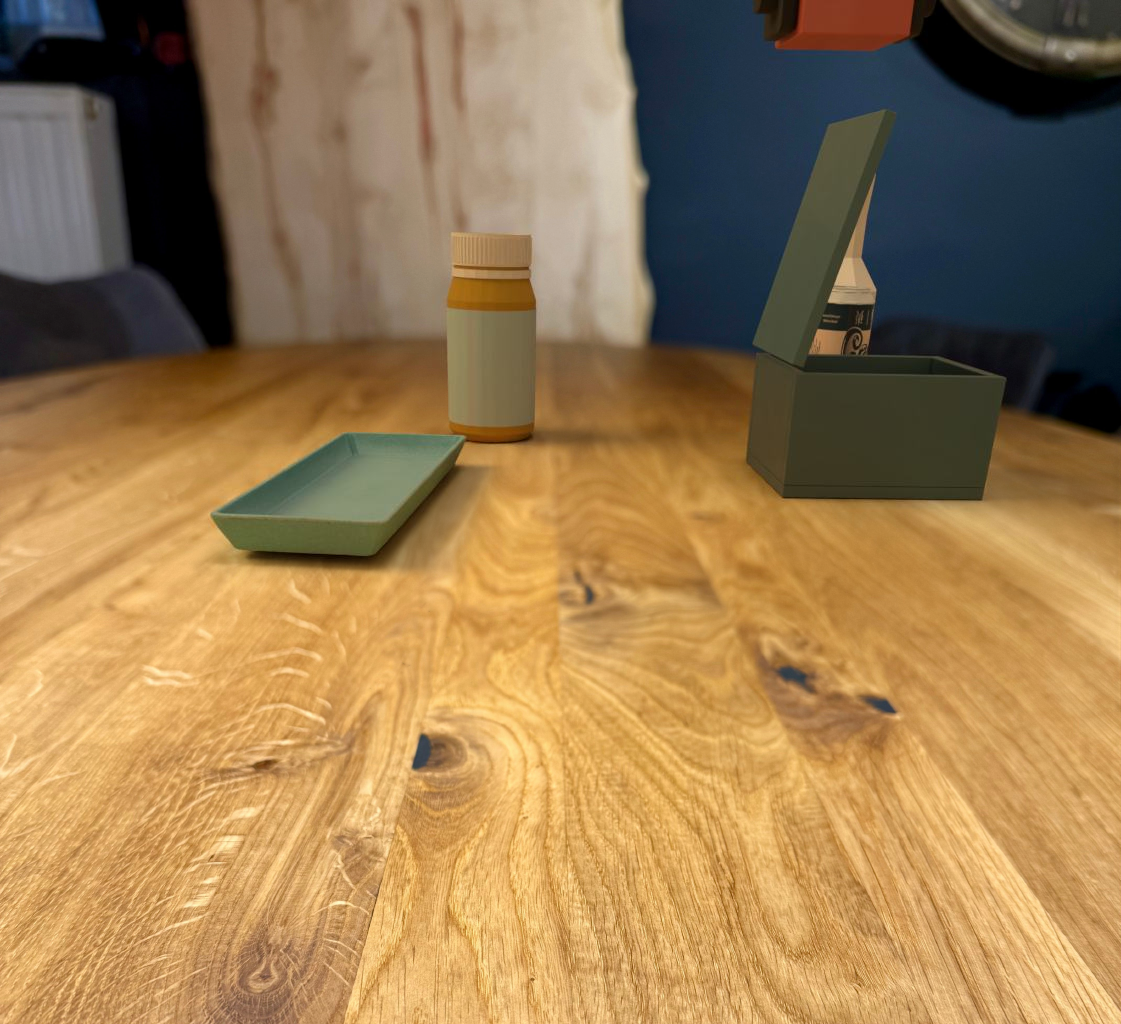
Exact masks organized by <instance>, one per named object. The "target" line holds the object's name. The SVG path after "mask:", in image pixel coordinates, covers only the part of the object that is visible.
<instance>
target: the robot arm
mask: <svg viewBox="0 0 1121 1024" xmlns="http://www.w3.org/2000/svg"><path fill="white" fill-rule="evenodd" d="M936 4H937V0H914V5H913V13H912V20H911V28H910V35H909V36H908V37H906V38H903V39H901V40H899V41H896V42H894V43H892V44H895V45H896V44H897V45H898V44H901V43H904V42H906V41H908V40H911V39H913V38H916V37H918V36H919V35H920V34H921V32H922V30H923V26H924V23H925V18H928V17H930V16H931V15H932V14H933V13H934V11H935V7H936ZM752 7H753V8H752V9H753V14H754V15H764V20H763V34H762V36H763V41H764V42H776V41H778V40H779V39H781V38H783V37H785V36H786V35H788V34H790V33H791V32H792V31H793V30H795V29H796V26H797V20H798V10H799V0H753V1H752Z"/></svg>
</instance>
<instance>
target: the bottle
mask: <svg viewBox="0 0 1121 1024" xmlns="http://www.w3.org/2000/svg"><path fill="white" fill-rule="evenodd" d="M532 250H533V238H532V234H527V233H506V232H469V231H468V232H463V231H458V232H457V231H454V232H453V231H452V232H451V235H450V262H451V264H452V266H453V267H452V266H451V276H452V279H451V282H450V286H449V289H448V292H447V297H446V306H445V307H446V351H447V354H446V355H447V357H446V359H447V402H448V403H447V405H448V427H449V429H450V430H451V432H452V433H453V435H463V436H466V441H470V442H479V443H510V442H517V441H523V440H525V439H528V438H529V437H530V435H531V434H532V432H533V431H534V429H535V421H536V369H537V368H536V367H537V365H536V362H537V361H536V359H537V358H536V357H537V298H536V295H535V291H534V288H533V285H532V282H531V278H532V269H530V267H531V266H532V261H533V259H532V257H533V254H532V253H533V251H532Z"/></svg>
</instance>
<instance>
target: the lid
mask: <svg viewBox="0 0 1121 1024" xmlns="http://www.w3.org/2000/svg"><path fill="white" fill-rule="evenodd" d="M897 117H898V113H897V112H895V111H892V110H890V109H887V108H884V109H881V110H878V111H874V112H869V113H867V114H863V115H859V116H856V117H852V118H848V119H844V120H839V121H837V122H834V123H829V124H828V126H827V127H826V132H825V134H824V136H823V140H822V142H821V145H820V149H819V152H818V154H817V157H816V160H815V163H814V164H813V165H814V166H813V168H812V172H811V174H810V177H809V180H808V183H807V186H806V188H805V191H804V194H803V197H802V199H801V203H800V205H799V209H798V211H797V215H796V217H795V220H794V223H793V226H792V229H791V232H790V235H789V237H788V240H787V242H786V246H785V249H784V251H783V254H782V257H781V260H780V264H779V266H778V268H777V272H776V274H775V278H774V281H773V282H772V286H771V290H770V292H769V294H768V297H767V301H766V304H765V307H764V308H763V311H762V315H761V318H760V320H759V324H758V326H757V328H756V332H755V335H754V338H753V340H752V346H754V347H756V348H758V349H760V350H762V351H765V353H770V354H772V355H774V356H776V357H778V358H780V359H782V360H784V361H787V362H789V363H791V364H793V365H796V366H799V367H802V368H803V367H804V365H805V362H806V359H807V357H808V354H809V351H810V349H811V346H812V343H813V340H814V338H815V335H816V332H817V330H818V327H819V324H820V322H821V319H822V316H823V313H824V311H825V308H826V305H827V303H828V300H829V297H830V295H831V292H832V289H833V287H834V284H835V281H836V278H837V276H838V273H839V270H840V268H841V265H842V262H843V260H844V257H845V254H846V252H847V249H848V246H849V243H850V241H851V238H852V235H853V233H854V230H855V227H856V225H857V222H858V219H859V217H860V214H861V211H862V208H863V206H864V203H865V200H866V198H867V195H868V192H869V190H870V187H871V184H872V182H873V179H874V176H875V173H877V171H878V167H879V165H880V162H881V159H882V157H883V155H884V152H885V150H886V147H887V144H888V141H889V138H890V136H891V133H892V130H893V127H894V124H895V122H896V119H897Z"/></svg>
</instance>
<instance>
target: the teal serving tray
mask: <svg viewBox="0 0 1121 1024" xmlns="http://www.w3.org/2000/svg"><path fill="white" fill-rule="evenodd" d="M466 441H467V440H466V436H463V435H455V434H437V433H436V434H435V433H407V432H402V433H401V432H368V431H363V432H362V431H343V432H341V433H340V434H338V435H336V436H335V437H333V438H332V439H330V440H329V441H326V442H325V443H324V444H322V445H320V446H319V447H316V448H315V449H314V450H312V451H311V452H309V453H307V454H305V455H304V456H302V457H300V458H299V459H298V460H296V461H294V462H293V463H291V464H289V465H287V466H286V467H284V468H283V469H281V470H279V471H278V472H276V473H274V474H273V475H271V476H270V477H268V478H266V479H265V480H263V481H261V482H259V483H258V484H256V485H254V486H253V487H251V488H249V489H248V490H245V491H244V492H243V493H240V495H238V496H236V497H234V498H233V499H231V500H229V501H228V502H226V503H224V504H223V505H222V504H221V506H219V507H217V508H216V509H214V510H212V511H211V512H210V514H209V516H210V518H211V519H212V521H213V522H214V524H215V525H216V527H217V528H218V530H219V531H220V533H222V535H223V536H224V537H225V538H226V540H227V541H228V542H229V543H230V544H231V545H232V546H233V548H234V549H236V550H240V551H255V552H257V551H258V552H276V553H298V554H319V555H320V554H321V555H341V556H345V555H346V556H360V557H361V556H362V557H369V556H374V555H376V554H377V553H378V551H379V550H381V548H383V546H384V545H385V544H386V543H387V542H388V541H389V540H390V539H391V538H392V537H393V536H394V535H395V534H396V532H397V531H399V530H400V528H401V527H402V526H403V525H404V524H405V522H407V520H408V519H409V518H410V517H411V516H412V515H413V513H414V512H415V511H416V510H417V509H418V508H419V507H420V505H421V504H423V502H424V501H425V500H426V499H427V497H428V496H429V495H430V494H431V493H432V492H433V491H434V489H436V487H437V486H438V485H439V483H440V482H441V481H442V480H443V479H444V477H445V476H446V475H447V474H448V473H449V472H450V471H451V470H452V468H453V467H454V466H455V465H456V463H457V461H458V459H459V456H460V455H461V452H462V451H463V448H464V446H465V444H466Z"/></svg>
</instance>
